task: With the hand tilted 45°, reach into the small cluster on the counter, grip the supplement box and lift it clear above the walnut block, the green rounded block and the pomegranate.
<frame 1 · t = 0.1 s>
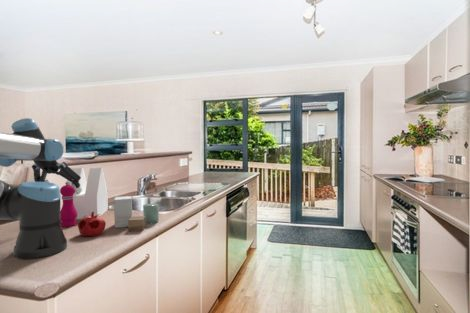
hand: (65, 192, 126), 15 cm above the worktop, tool tilted 35°, fingers open, 13 cm apart
pepper mill: (68, 225, 128), on the worktop
supplement box: (123, 225, 128), on the worktop
green rounded block: (151, 221, 134), on the worktop
milk carton: (87, 214, 149), on the worktop
pomegranate: (92, 234, 115), on the worktop
walnut block: (137, 229, 122), on the worktop
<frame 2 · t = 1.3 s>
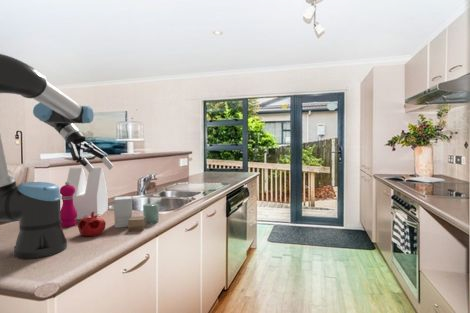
hand: (102, 169, 129), 25 cm above the worktop, tool tilted 45°, fingers open, 13 cm apart
nothing on the worktop moved.
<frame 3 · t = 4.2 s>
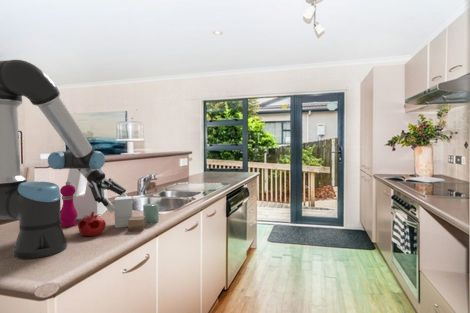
hand: (122, 207, 129), 8 cm above the worktop, tool tilted 45°, fingers open, 13 cm apart
nothing on the worktop moved.
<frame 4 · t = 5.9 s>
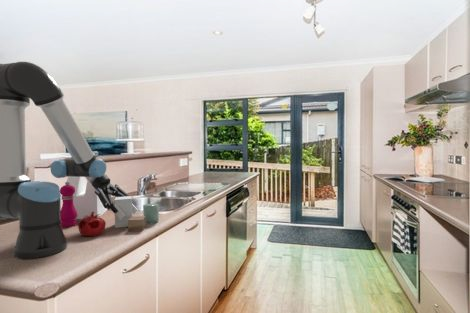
hand: (129, 214, 127), 5 cm above the worktop, tool tilted 45°, fingers closed on supplement box, 10 cm apart
supplement box: (123, 225, 128), on the worktop, touching gripper
everything else where it was.
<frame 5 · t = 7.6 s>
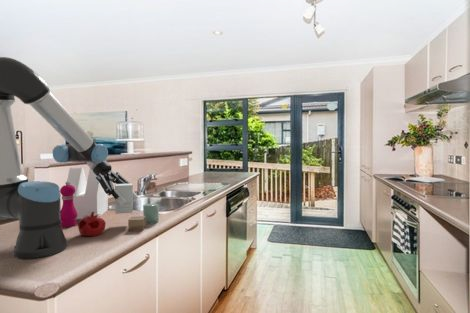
hand: (130, 201, 127), 11 cm above the worktop, tool tilted 45°, fingers closed on supplement box, 10 cm apart
supplement box: (124, 212, 128), point 6 cm above the worktop, touching gripper
everything else where it was.
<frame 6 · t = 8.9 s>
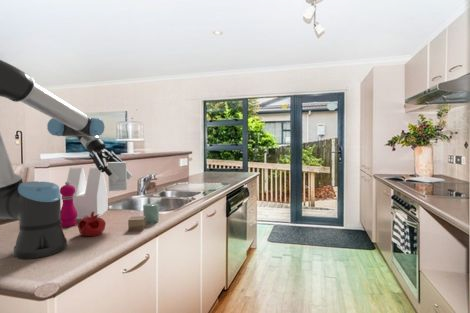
hand: (123, 179, 127), 21 cm above the worktop, tool tilted 45°, fingers closed on supplement box, 10 cm apart
supplement box: (118, 190, 128), point 16 cm above the worktop, touching gripper
everything else where it was.
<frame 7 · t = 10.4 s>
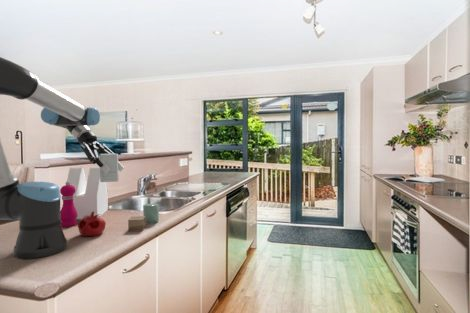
hand: (115, 170, 128), 25 cm above the worktop, tool tilted 45°, fingers closed on supplement box, 10 cm apart
supplement box: (109, 181, 129), point 20 cm above the worktop, touching gripper
everything else where it was.
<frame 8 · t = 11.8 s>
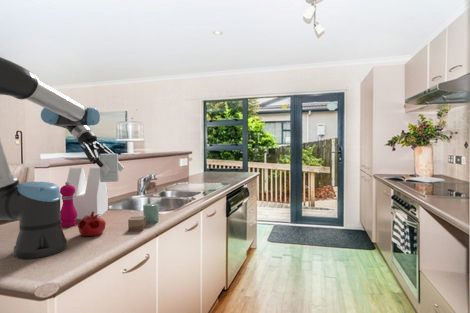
hand: (115, 170, 128), 25 cm above the worktop, tool tilted 45°, fingers closed on supplement box, 10 cm apart
supplement box: (109, 181, 129), point 20 cm above the worktop, touching gripper
everything else where it was.
at the end: the gripper is holding supplement box; supplement box point 19.7 cm above the worktop; green rounded block moved 0.1 cm from its start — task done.
